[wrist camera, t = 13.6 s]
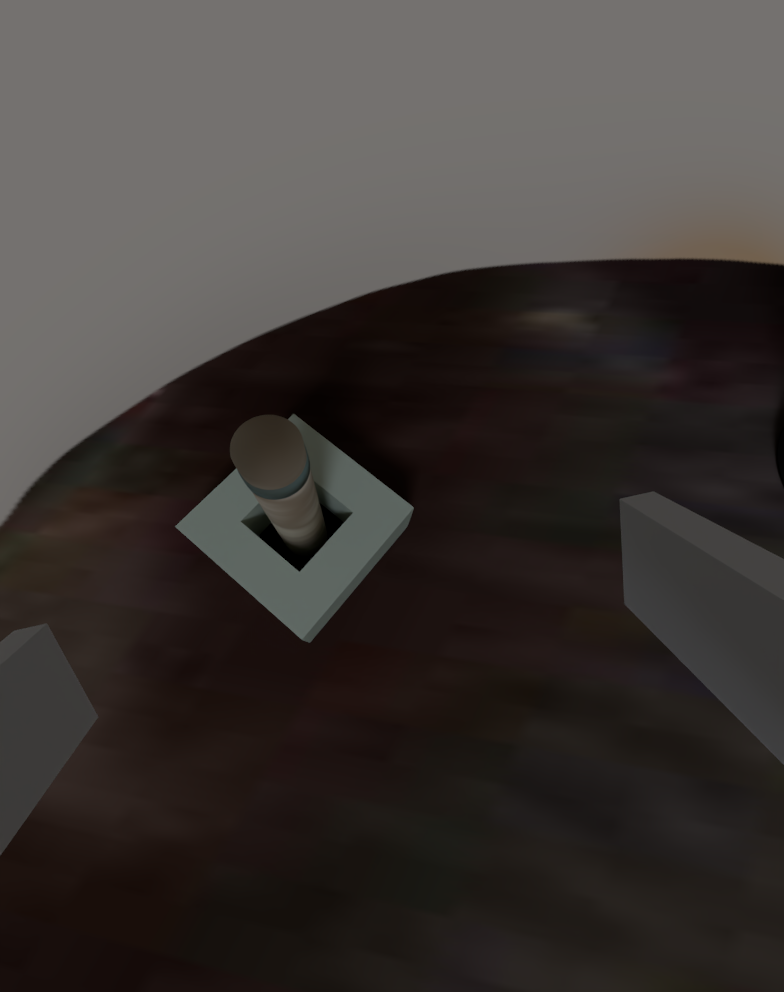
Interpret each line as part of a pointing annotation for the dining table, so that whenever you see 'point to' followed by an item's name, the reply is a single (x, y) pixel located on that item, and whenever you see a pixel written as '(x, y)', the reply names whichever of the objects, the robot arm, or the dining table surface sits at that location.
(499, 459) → the dining table surface
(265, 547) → the grey square-hole block
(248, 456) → the tan cylinder
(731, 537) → the robot arm
